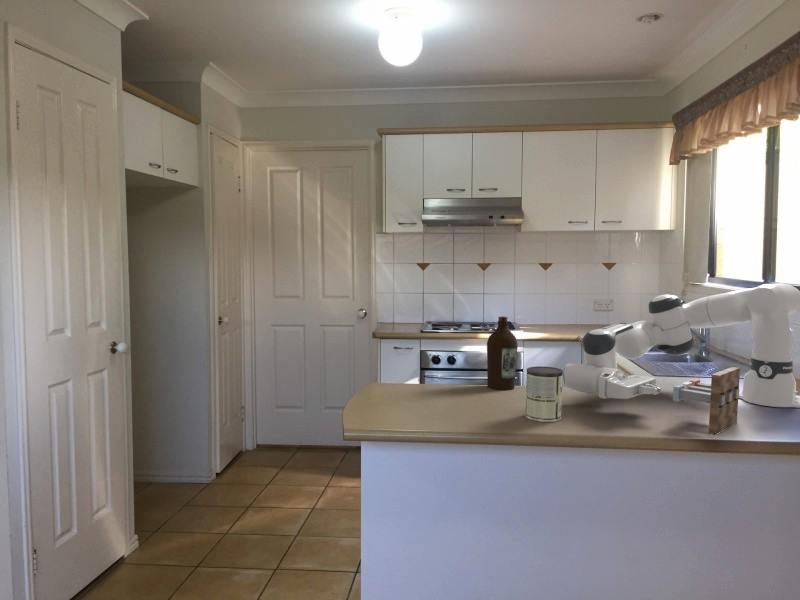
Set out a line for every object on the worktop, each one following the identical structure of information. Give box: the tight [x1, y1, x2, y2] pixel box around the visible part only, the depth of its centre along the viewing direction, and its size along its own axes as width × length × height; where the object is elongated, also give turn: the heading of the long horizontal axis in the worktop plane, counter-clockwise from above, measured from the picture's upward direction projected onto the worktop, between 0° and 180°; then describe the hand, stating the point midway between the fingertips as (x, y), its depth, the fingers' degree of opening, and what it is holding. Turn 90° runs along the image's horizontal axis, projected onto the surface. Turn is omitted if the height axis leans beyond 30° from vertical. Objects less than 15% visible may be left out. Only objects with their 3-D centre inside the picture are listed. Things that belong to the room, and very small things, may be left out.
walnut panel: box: [708, 366, 741, 435], centre depth 175 cm, size 17×2×16 cm, turn 135°
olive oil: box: [486, 316, 519, 391], centre depth 222 cm, size 11×11×25 cm
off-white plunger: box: [681, 381, 732, 402], centre depth 178 cm, size 4×12×4 cm, turn 45°
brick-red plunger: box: [689, 378, 740, 399], centre depth 182 cm, size 4×12×4 cm, turn 45°
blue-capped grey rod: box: [672, 384, 725, 406], centre depth 174 cm, size 4×12×4 cm, turn 45°
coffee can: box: [525, 365, 564, 423], centre depth 183 cm, size 10×10×14 cm
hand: (658, 391), depth 181 cm, fingers closed
